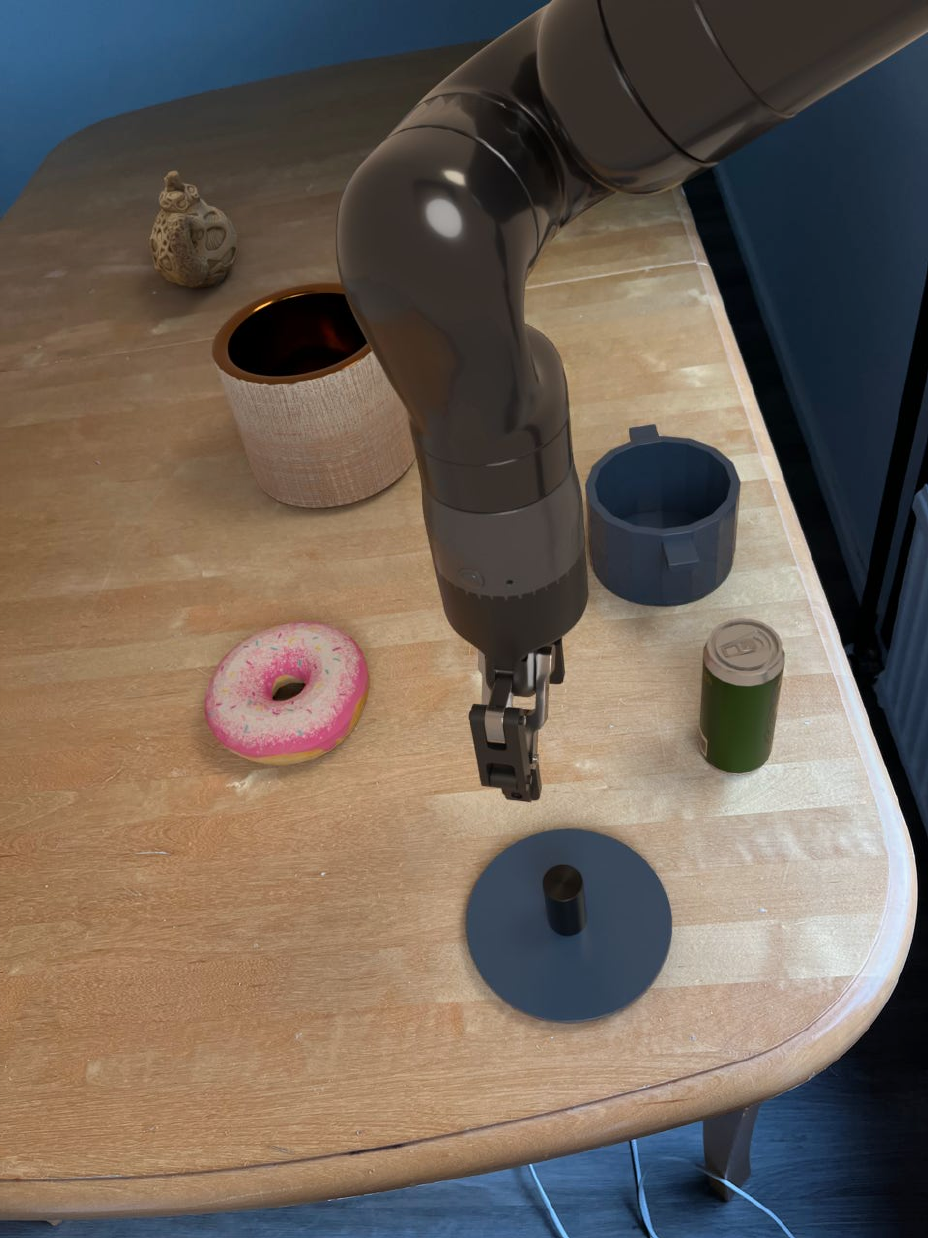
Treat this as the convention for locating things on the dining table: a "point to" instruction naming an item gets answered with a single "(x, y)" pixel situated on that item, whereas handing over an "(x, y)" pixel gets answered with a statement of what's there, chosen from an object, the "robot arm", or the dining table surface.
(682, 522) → the blue cooking pot
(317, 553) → the dining table surface
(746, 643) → the beer can
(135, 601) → the dining table surface
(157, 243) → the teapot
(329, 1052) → the dining table surface
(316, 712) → the donut
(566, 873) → the lid
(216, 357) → the planter
